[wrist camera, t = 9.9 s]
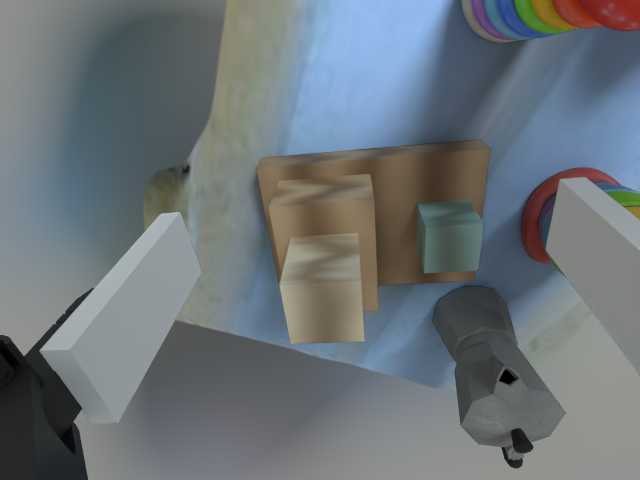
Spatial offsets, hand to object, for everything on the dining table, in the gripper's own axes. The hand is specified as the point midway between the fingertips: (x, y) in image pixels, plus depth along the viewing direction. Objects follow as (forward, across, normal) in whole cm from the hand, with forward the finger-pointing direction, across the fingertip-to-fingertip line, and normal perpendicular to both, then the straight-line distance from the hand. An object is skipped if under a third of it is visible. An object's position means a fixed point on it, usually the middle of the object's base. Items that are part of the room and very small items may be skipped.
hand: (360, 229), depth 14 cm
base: (+26, 0, -14) cm, 30 cm away
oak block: (+17, -4, -13) cm, 22 cm away
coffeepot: (+26, +12, -30) cm, 42 cm away
